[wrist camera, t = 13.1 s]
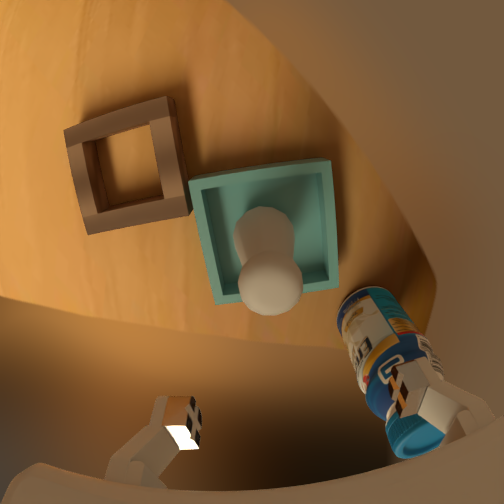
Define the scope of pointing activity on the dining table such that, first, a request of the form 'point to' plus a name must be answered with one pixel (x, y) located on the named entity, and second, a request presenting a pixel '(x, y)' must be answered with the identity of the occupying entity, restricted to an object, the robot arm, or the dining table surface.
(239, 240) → the salt shaker
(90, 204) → the socket collar
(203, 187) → the tray
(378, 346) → the beverage bottle
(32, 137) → the dining table surface
